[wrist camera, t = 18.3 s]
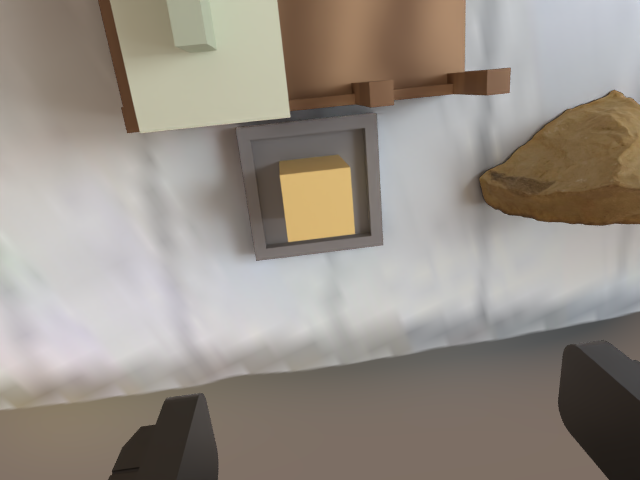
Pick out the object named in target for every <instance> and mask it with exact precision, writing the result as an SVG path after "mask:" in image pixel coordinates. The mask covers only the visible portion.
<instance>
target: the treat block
mask: <svg viewBox="0 0 640 480" xmlns="http://www.w3.org/2000/svg"><path fill="white" fill-rule="evenodd" d="M279 170H280V181H281V189H282V197H283V205H284V213H285V221H286V228H287V236H288V242H293V241H301V240H310V239H318V238H326V237H334V236H342V235H351V234H355V226H354V212H353V198H352V185H351V171H350V166H349V165H348V164H347V163H346V162H345V161H344V160H343V159H342V158H341V157H340V156H339V155H330V156H321V157H312V158H303V159H294V160H285V161H279Z"/></svg>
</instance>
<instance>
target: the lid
mask: <svg viewBox="0 0 640 480" xmlns="http://www.w3.org/2000/svg"><path fill="white" fill-rule="evenodd" d="M110 3H111V8H112V12H113V17H114V21H115V25H116V30H117V34H118V39H119V43H120V47H121V52H122V56H123V60H124V65H125V69H126V74H127V78H128V82H129V87H130V91H131V96H132V100H133V104H134V109H135V113H136V118H137V122H138V126H139V131H140V133H147V132H157V131H166V130H176V129H185V128H195V127H204V126H214V125H223V124H233V123H242V122H252V121H261V120H271V119H280V118H290V109H289V100H288V91H287V82H286V73H285V65H284V56H283V47H282V38H281V29H280V21H279V12H278V3H277V0H110Z"/></svg>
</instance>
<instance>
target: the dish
mask: <svg viewBox="0 0 640 480" xmlns="http://www.w3.org/2000/svg"><path fill="white" fill-rule="evenodd" d="M236 134H237V140H238V147H239V153H240V160H241V166H242V173H243V179H244V185H245V192H246V198H247V205H248V211H249V217H250V224H251V230H252V237H253V243H254V250H255V256H256V261H259V260H267V259H275V258H283V257H291V256H299V255H307V254H316V253H324V252H332V251H340V250H348V249H356V248H364V247H372V246H380V245H383V231H382V211H381V191H380V171H379V151H378V131H377V114H375V113H364V114H355V115H345V116H336V117H326V118H317V119H307V120H298V121H289V122H279V123H270V124H260V125H251V126H241V127H237V128H236ZM330 155H339V156H340V157H341V158H342V159H343V160H344V161H345V162H346V163H347V164H348V165H349V166H350V171H351V185H352V198H353V212H354V226H355V234H351V235H342V236H334V237H326V238H318V239H310V240H301V241H293V242H288V236H287V228H286V221H285V213H284V205H283V197H282V189H281V181H280V170H279V161H285V160H294V159H303V158H312V157H321V156H330Z"/></svg>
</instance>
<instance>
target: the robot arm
mask: <svg viewBox="0 0 640 480" xmlns="http://www.w3.org/2000/svg"><path fill="white" fill-rule="evenodd" d="M558 407H559V412H560V415H561V418H562V421H563V423H564V425H565V426H566V428H567V430H568V431H569V432H570V434H571V435H572V436H573V437H574V438H575V440H576V441H577V442H578V443H579V444H580V446H581V447H582V448H583V449H584V450H585V452H586V453H587V454H588V455H589V456H590V457H591V459H592V460H593V461H594V462H595V463H596V465H597V466H598V467H599V468H600V469H601V471H602V472H603V473H604V474H605V475H606V477H607V478H608V479H609V480H640V362H638V361H636V360H631V359H630V358H629V357H627V356H626V355H625V354H623V353H622V352H621V351H620V350H618V349H617V348H616V347H614V346H613V345H612V344H610V343H609V342H607V341H603V340H601V341H593V342H586V343H578V344H571V345H568V346H567V347H566V348H565V349H564V352H563V359H562V369H561V378H560V388H559V397H558ZM108 480H218V453H217V446H216V442H215V438H214V434H213V429H212V424H211V420H210V415H209V411H208V406H207V402H206V398H205V396H204V394H203V393H199V394H191V395H184V396H176V397H169V398H167V399H166V400H165V401H164V404H163V406H162V409H161V412H160V415H159V417H158V420H157V423H156V425H150V426H143V427H140V429H139V430H138V431H137V432H136V433H135V434H134V435H133V436H132V437H131V439H130V440H129V441H128V442H127V443H126V444H125V445H124V446H123V447H122V450H121V452H120V454H119V457H118V459H117V461H116V463H115V466H114V468H113V470H112V475H111V476H110V477H109V479H108Z"/></svg>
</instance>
